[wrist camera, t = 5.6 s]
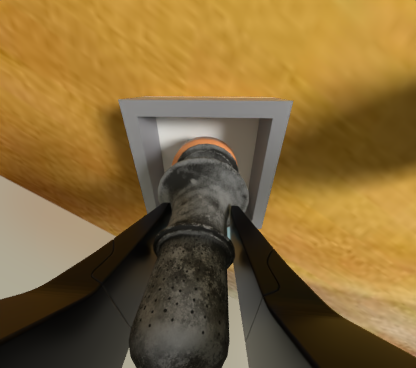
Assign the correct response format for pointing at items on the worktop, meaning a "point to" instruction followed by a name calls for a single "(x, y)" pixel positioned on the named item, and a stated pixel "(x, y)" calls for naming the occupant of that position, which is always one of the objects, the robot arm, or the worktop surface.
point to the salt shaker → (191, 265)
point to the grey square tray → (211, 127)
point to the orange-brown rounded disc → (202, 141)
